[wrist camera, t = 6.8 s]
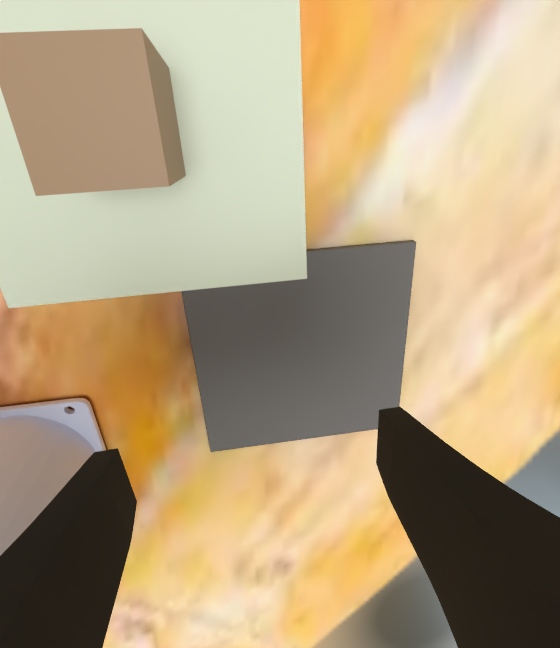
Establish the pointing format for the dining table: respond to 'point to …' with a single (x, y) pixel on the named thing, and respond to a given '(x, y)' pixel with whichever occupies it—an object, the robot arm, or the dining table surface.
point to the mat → (303, 347)
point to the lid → (149, 147)
